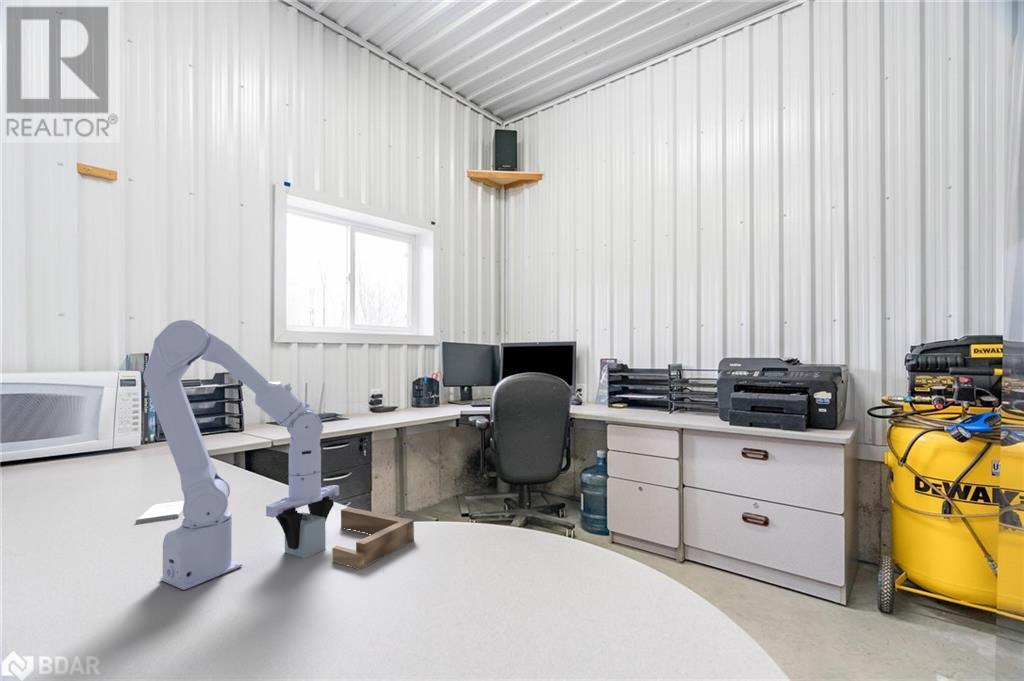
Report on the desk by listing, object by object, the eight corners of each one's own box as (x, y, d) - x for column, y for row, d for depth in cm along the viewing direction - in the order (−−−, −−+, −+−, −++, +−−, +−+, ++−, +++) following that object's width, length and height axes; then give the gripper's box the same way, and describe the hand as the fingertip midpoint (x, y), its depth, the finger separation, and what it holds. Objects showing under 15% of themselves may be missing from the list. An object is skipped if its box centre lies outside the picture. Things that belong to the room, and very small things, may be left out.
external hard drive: (135, 526, 103) (152, 510, 114) (178, 520, 106) (190, 505, 118) (135, 519, 103) (152, 504, 114) (178, 513, 106) (190, 499, 118)
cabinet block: (305, 558, 82) (304, 519, 83) (284, 552, 85) (284, 515, 86) (325, 548, 86) (325, 512, 87) (305, 543, 89) (305, 508, 90)
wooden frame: (359, 569, 77) (359, 546, 78) (290, 549, 86) (290, 528, 87) (413, 540, 90) (413, 520, 90) (348, 525, 99) (348, 507, 99)
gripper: (283, 483, 78) (283, 562, 78) (349, 465, 91) (349, 533, 90) (259, 479, 82) (259, 554, 81) (326, 462, 94) (326, 527, 94)
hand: (305, 543), depth 86 cm, fingers closed on cabinet block, 4 cm apart
